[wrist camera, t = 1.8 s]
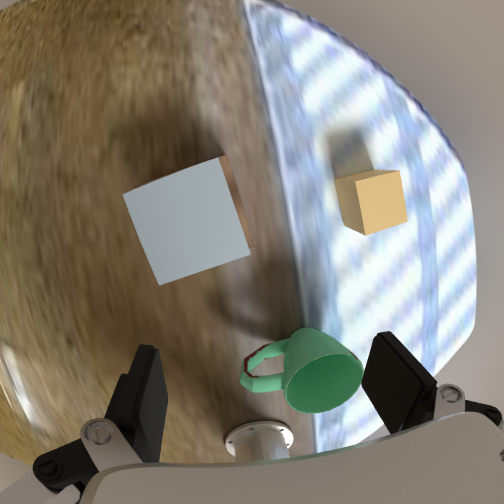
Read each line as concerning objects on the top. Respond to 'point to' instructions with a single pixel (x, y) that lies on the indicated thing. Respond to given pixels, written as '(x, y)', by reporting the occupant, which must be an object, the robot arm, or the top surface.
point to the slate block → (187, 222)
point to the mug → (307, 371)
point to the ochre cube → (371, 200)
